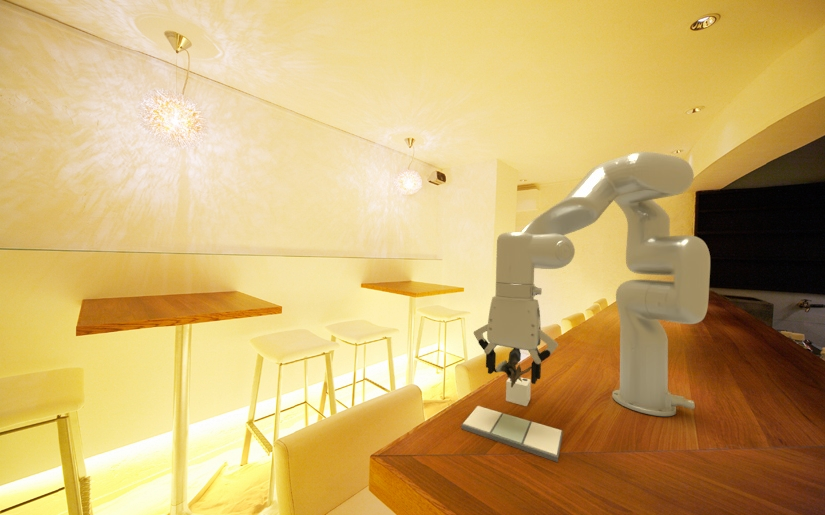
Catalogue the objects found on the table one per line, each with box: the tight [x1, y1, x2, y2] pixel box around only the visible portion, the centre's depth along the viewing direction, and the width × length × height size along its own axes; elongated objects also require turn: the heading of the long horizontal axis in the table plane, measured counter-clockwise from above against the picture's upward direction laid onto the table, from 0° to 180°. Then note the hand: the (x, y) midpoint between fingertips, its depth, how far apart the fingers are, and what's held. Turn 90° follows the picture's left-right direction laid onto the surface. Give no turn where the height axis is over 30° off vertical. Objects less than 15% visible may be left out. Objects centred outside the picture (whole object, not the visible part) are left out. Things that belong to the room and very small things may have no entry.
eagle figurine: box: [493, 348, 531, 387], centre depth 62 cm, size 8×7×9 cm
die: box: [505, 377, 532, 407], centre depth 74 cm, size 5×5×5 cm
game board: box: [460, 405, 564, 463], centre depth 60 cm, size 18×10×1 cm, turn 58°
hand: (512, 376), depth 60 cm, fingers closed on eagle figurine, 8 cm apart
